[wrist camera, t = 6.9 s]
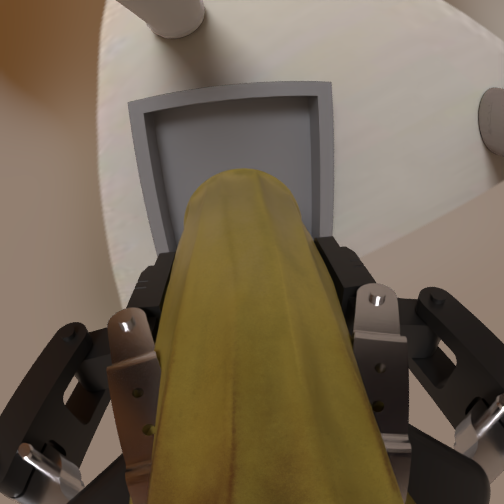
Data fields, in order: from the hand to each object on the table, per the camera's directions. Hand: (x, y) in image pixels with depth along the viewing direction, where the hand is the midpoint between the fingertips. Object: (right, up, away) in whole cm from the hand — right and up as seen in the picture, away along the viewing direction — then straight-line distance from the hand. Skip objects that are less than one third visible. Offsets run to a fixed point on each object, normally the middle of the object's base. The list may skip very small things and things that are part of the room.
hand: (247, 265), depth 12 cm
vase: (0, +2, +4) cm, 4 cm away
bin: (-1, +8, +15) cm, 17 cm away
